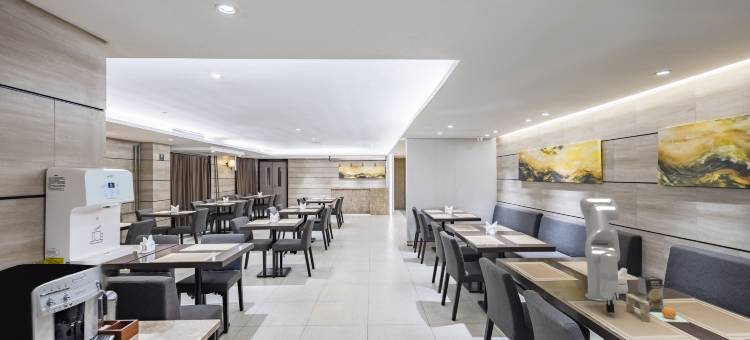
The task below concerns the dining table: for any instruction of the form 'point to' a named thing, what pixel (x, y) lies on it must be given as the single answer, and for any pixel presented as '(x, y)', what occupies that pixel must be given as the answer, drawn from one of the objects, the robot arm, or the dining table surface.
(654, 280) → the coffee box
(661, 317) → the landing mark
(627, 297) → the bridge
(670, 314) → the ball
